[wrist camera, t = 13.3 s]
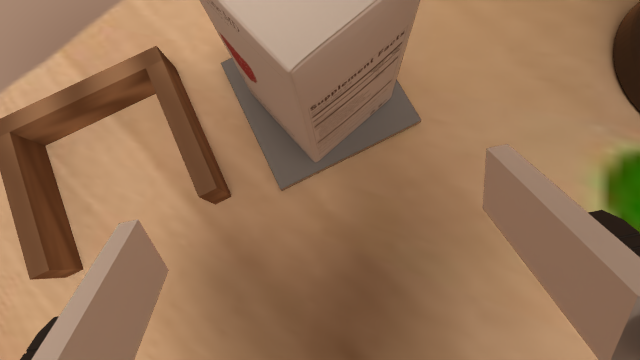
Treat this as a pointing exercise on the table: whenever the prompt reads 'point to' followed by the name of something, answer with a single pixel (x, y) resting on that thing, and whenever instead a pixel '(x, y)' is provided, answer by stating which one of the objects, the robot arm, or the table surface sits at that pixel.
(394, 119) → the slate pad
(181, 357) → the table surface
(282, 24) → the supplement box
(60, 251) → the cradle
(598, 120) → the table surface
